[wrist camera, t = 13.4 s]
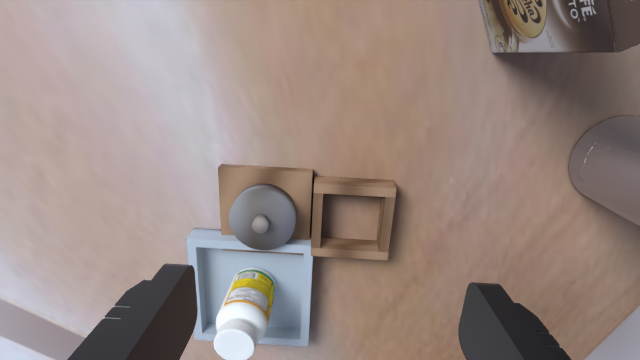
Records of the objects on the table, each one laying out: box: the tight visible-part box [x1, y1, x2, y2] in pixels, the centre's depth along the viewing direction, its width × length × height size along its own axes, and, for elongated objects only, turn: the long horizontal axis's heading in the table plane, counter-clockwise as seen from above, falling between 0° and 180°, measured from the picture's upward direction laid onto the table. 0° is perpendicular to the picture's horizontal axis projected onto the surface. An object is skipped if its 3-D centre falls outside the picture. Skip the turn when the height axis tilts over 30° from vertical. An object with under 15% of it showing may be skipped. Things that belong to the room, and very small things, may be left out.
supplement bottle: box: [214, 267, 276, 360], centre depth 38 cm, size 5×5×10 cm
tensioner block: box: [218, 164, 397, 260], centre depth 38 cm, size 19×10×4 cm, turn 87°
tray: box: [186, 228, 313, 347], centre depth 42 cm, size 14×14×2 cm
